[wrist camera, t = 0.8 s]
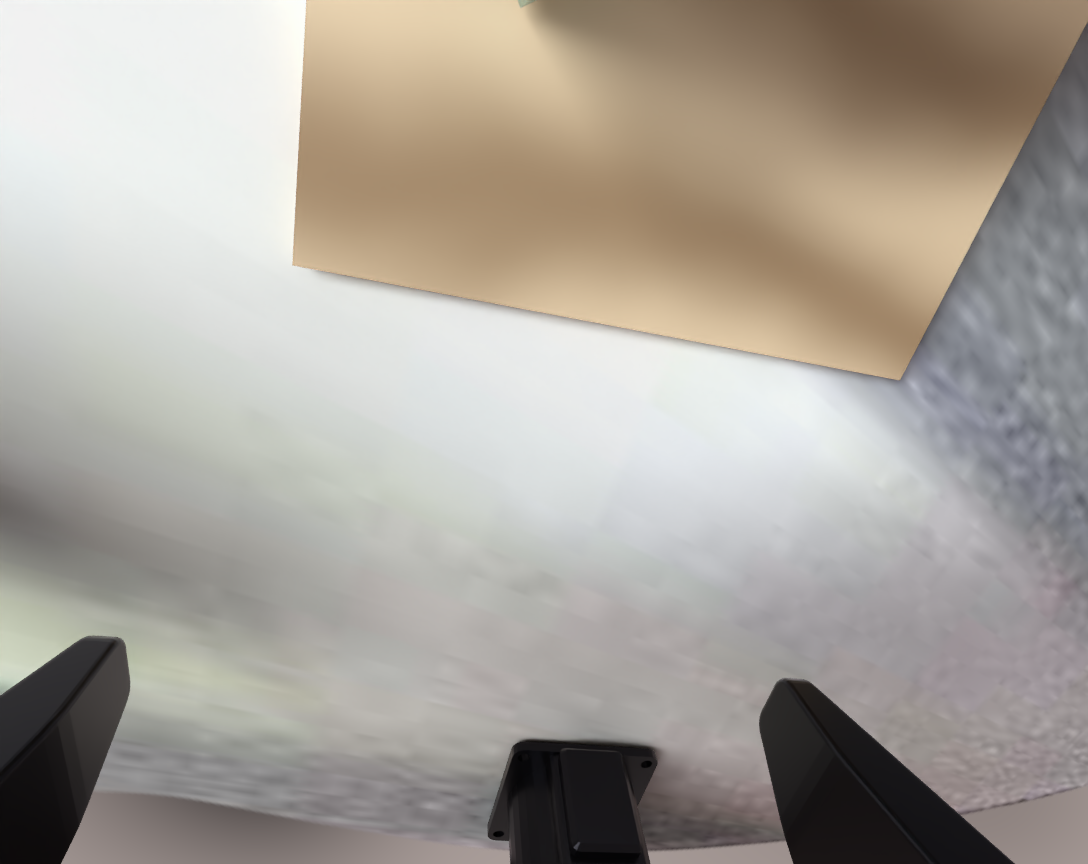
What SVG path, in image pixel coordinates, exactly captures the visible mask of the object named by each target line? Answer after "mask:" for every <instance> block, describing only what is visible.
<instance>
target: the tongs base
mask: <svg viewBox="0 0 1088 864" xmlns="http://www.w3.org/2000/svg"><path fill="white" fill-rule="evenodd" d="M1087 22H1088V0H536V1H534V2H532V3H530V4H528V5H526V6H524V7H522V8H520V6H519V3H518V0H306V19H305V38H304V57H303V76H302V95H301V113H300V132H299V151H298V170H297V189H296V208H295V227H294V246H293V264H292V265H294V266H299V267H304V268H309V269H315V270H320V271H325V272H331V273H336V274H341V275H346V276H352V277H357V278H362V279H368V280H373V281H378V282H383V283H389V284H394V285H399V286H404V287H410V288H415V289H420V290H426V291H431V292H436V293H441V294H447V295H452V296H457V297H462V298H468V299H473V300H478V301H484V302H489V303H494V304H499V305H505V306H510V307H515V308H521V309H526V310H531V311H536V312H542V313H547V314H552V315H557V316H563V317H568V318H573V319H579V320H584V321H589V322H594V323H600V324H605V325H610V326H616V327H621V328H626V329H631V330H637V331H642V332H647V333H652V334H658V335H663V336H668V337H674V338H679V339H684V340H689V341H695V342H700V343H705V344H710V345H716V346H721V347H726V348H732V349H737V350H742V351H747V352H753V353H758V354H763V355H769V356H774V357H779V358H784V359H790V360H795V361H800V362H805V363H811V364H816V365H821V366H827V367H832V368H837V369H842V370H848V371H853V372H858V373H863V374H869V375H874V376H879V377H885V378H890V379H895V380H900V379H901V377H902V375H903V373H904V371H905V370H906V368H907V366H908V364H909V362H910V360H911V358H912V356H913V354H914V352H915V350H916V349H917V347H918V345H919V343H920V341H921V339H922V337H923V335H924V333H925V331H926V329H927V327H928V326H929V324H930V322H931V320H932V318H933V316H934V314H935V312H936V310H937V308H938V306H939V305H940V303H941V301H942V299H943V297H944V295H945V293H946V291H947V289H948V287H949V285H950V284H951V282H952V280H953V278H954V276H955V274H956V272H957V270H958V268H959V266H960V264H961V263H962V261H963V259H964V257H965V255H966V253H967V251H968V249H969V247H970V245H971V243H972V242H973V240H974V238H975V236H976V234H977V232H978V230H979V228H980V226H981V224H982V222H983V221H984V219H985V217H986V215H987V213H988V211H989V209H990V207H991V205H992V203H993V201H994V200H995V198H996V196H997V194H998V192H999V190H1000V188H1001V186H1002V184H1003V182H1004V180H1005V178H1006V177H1007V175H1008V173H1009V171H1010V169H1011V167H1012V165H1013V163H1014V161H1015V159H1016V157H1017V156H1018V154H1019V152H1020V150H1021V148H1022V146H1023V144H1024V142H1025V140H1026V138H1027V136H1028V135H1029V133H1030V131H1031V129H1032V127H1033V125H1034V123H1035V121H1036V119H1037V117H1038V115H1039V114H1040V112H1041V110H1042V108H1043V106H1044V104H1045V102H1046V100H1047V98H1048V96H1049V94H1050V93H1051V91H1052V89H1053V87H1054V85H1055V83H1056V81H1057V79H1058V77H1059V75H1060V73H1061V72H1062V70H1063V68H1064V66H1065V64H1066V62H1067V60H1068V58H1069V56H1070V54H1071V52H1072V50H1073V49H1074V47H1075V45H1076V43H1077V41H1078V39H1079V37H1080V35H1081V33H1082V31H1083V29H1084V28H1085V26H1086V24H1087Z"/></svg>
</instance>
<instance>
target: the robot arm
mask: <svg viewBox="0 0 1088 864" xmlns="http://www.w3.org/2000/svg"><path fill="white" fill-rule="evenodd" d="M129 692H130V675H129V668H128V660H127V653H126V646H125V643H124V641H123V640H122V639H121V638H118V637H107V636H87V637H84V638H82V639H80V640H79V641H77V642H76V643H74V644H73V645H71V646H70V647H69V648H67V649H66V650H64V651H63V652H61V653H60V654H59V655H57V656H56V657H54V658H53V659H52V660H50V661H49V662H47V663H46V664H44V665H43V666H42V667H40V668H39V669H37V670H36V671H34V672H33V673H32V674H30V675H29V676H27V677H26V678H24V679H23V680H22V681H20V682H19V683H17V684H16V685H15V686H13V687H12V688H10V689H9V690H7V691H6V692H5V693H3V694H2V695H0V864H61V862H62V860H63V858H64V856H65V854H66V852H67V850H68V848H69V846H70V844H71V842H72V840H73V838H74V836H75V834H76V832H77V830H78V827H79V825H80V823H81V820H82V818H83V815H84V813H85V810H86V808H87V805H88V803H89V800H90V798H91V795H92V792H93V790H94V787H95V785H96V782H97V779H98V777H99V774H100V771H101V769H102V766H103V763H104V761H105V758H106V756H107V753H108V750H109V748H110V745H111V742H112V740H113V737H114V735H115V732H116V729H117V727H118V724H119V721H120V719H121V716H122V713H123V711H124V708H125V706H126V703H127V700H128V696H129ZM759 728H760V734H761V738H762V743H763V747H764V751H765V755H766V760H767V764H768V768H769V773H770V777H771V781H772V786H773V790H774V794H775V799H776V803H777V807H778V812H779V816H780V820H781V824H782V828H783V831H784V835H785V838H786V842H787V845H788V848H789V851H790V855H791V858H792V861H793V864H1015V863H1013V862H1012V861H1011V860H1010V859H1009V858H1008V857H1007V856H1005V855H1004V854H1003V853H1002V852H1001V851H1000V850H999V849H998V848H996V847H995V846H994V845H993V844H992V843H991V842H990V841H989V840H987V839H986V838H985V837H984V836H983V835H982V834H981V833H980V832H978V831H977V830H976V829H975V828H974V827H973V826H972V825H971V824H969V823H968V822H967V821H966V820H965V819H964V818H963V817H962V816H961V815H959V814H958V813H957V812H956V811H955V810H954V809H953V808H952V807H950V806H949V805H948V804H947V803H946V802H945V801H944V800H943V799H941V798H940V797H939V796H938V795H937V794H936V793H935V792H933V791H932V790H931V789H930V788H929V787H928V786H927V785H926V784H924V783H923V782H922V781H921V780H920V779H919V778H918V777H917V776H915V775H914V774H913V773H912V772H911V771H910V770H909V769H908V768H906V767H905V766H904V765H903V764H902V763H901V762H900V761H899V760H897V759H896V758H895V757H894V756H893V755H892V754H891V753H890V752H888V751H887V750H886V749H885V748H884V747H883V746H882V745H881V744H879V743H878V742H877V741H876V740H875V739H874V738H873V737H872V736H870V735H869V734H868V733H867V732H866V731H865V730H864V729H863V728H861V727H860V726H859V725H858V724H857V723H856V722H855V721H854V720H852V719H851V718H850V717H849V716H848V715H847V714H846V713H845V712H843V711H842V710H841V709H840V708H839V707H838V706H837V705H836V704H834V703H833V702H832V701H831V700H830V699H829V698H828V697H827V696H825V695H824V694H823V693H822V692H821V691H820V690H819V689H818V688H816V687H815V686H814V685H813V684H812V683H810V682H809V681H807V680H804V679H791V678H782V679H780V680H779V681H778V682H777V683H776V684H775V686H774V688H773V690H772V692H771V694H770V696H769V698H768V700H767V702H766V704H765V706H764V708H763V710H762V712H761V714H760V719H759ZM657 763H658V762H657V758H656V754H655V752H654V751H653V750H651V749H644V748H626V747H609V746H592V745H575V744H558V743H541V742H519V743H517V744H515V745H514V746H513V747H512V749H511V752H510V755H509V759H508V762H507V765H506V768H505V771H504V774H503V778H502V781H501V784H500V787H499V790H498V794H497V797H496V800H495V803H494V806H493V809H492V813H491V816H490V819H489V822H488V837H489V838H490V839H492V840H502V841H509V847H510V864H650V860H649V856H648V851H647V847H646V843H645V838H644V834H643V830H642V825H641V821H640V816H639V812H638V808H637V806H638V804H639V802H640V800H641V798H642V795H643V793H644V791H645V789H646V787H647V785H648V783H649V781H650V779H651V777H652V775H653V772H654V770H655V768H656V766H657Z"/></svg>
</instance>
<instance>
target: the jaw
mask: <svg viewBox="0 0 1088 864" xmlns="http://www.w3.org/2000/svg"><path fill="white" fill-rule="evenodd" d="M534 1H536V0H518V3H519V6H520V8H522V7H524V6H526V5H528V4H530V3H532V2H534Z"/></svg>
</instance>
